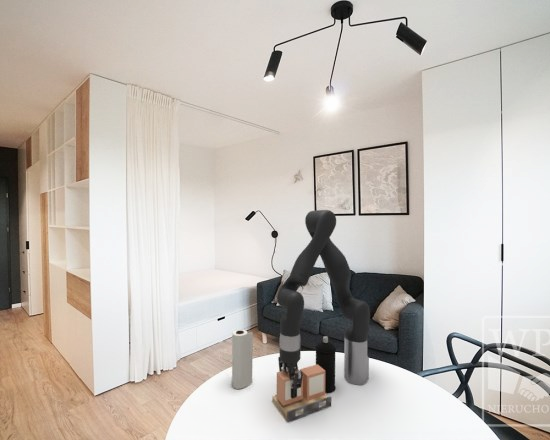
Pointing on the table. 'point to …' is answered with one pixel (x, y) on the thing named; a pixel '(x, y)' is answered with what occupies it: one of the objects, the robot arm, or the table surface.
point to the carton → (287, 389)
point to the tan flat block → (301, 407)
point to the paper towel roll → (242, 358)
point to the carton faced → (313, 382)
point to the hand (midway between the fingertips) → (289, 392)
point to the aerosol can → (327, 362)
